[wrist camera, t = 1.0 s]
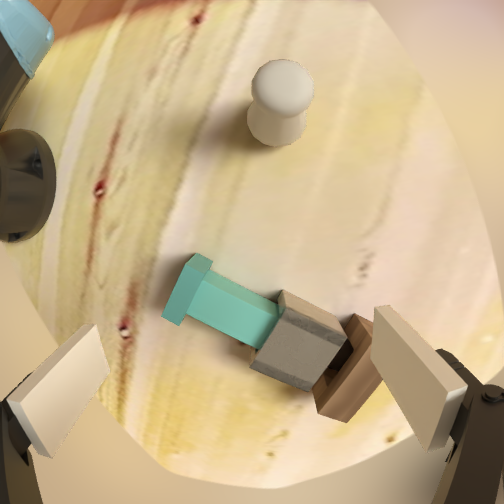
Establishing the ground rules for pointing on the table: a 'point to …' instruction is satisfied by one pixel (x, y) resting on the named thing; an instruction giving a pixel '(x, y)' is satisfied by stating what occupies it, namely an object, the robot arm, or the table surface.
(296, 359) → the sleeve
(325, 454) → the table surface
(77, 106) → the table surface
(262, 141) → the salt shaker
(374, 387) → the socket block
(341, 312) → the table surface
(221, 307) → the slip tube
